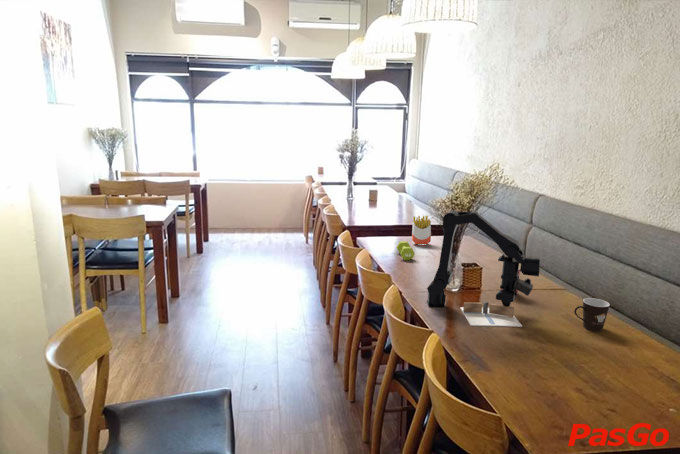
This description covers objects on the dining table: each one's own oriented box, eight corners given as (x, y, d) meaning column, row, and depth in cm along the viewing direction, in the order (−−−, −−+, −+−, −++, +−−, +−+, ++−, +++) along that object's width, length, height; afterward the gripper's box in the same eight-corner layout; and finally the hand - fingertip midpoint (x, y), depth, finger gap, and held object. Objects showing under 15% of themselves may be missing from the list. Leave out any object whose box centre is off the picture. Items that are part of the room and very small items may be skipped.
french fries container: (430, 245, 286) (431, 216, 282) (412, 245, 286) (414, 216, 282) (429, 243, 291) (430, 215, 287) (411, 243, 291) (412, 215, 287)
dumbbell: (396, 252, 270) (396, 240, 269) (409, 252, 271) (410, 240, 269) (400, 260, 254) (400, 248, 253) (414, 260, 255) (415, 248, 253)
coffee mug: (603, 324, 174) (607, 299, 172) (608, 334, 166) (612, 308, 164) (569, 320, 178) (572, 295, 176) (572, 329, 170) (575, 304, 168)
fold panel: (488, 313, 183) (489, 304, 182) (489, 312, 183) (490, 303, 183) (513, 317, 179) (513, 308, 178) (513, 316, 179) (514, 307, 179)
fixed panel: (464, 314, 183) (464, 302, 182) (462, 312, 185) (463, 301, 184) (488, 314, 183) (488, 303, 182) (486, 312, 185) (487, 301, 184)
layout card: (470, 325, 173) (470, 324, 173) (460, 308, 189) (460, 306, 189) (522, 326, 172) (522, 325, 172) (507, 308, 189) (507, 307, 189)
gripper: (529, 283, 166) (525, 323, 170) (535, 269, 182) (531, 306, 186) (497, 278, 172) (493, 317, 175) (505, 265, 188) (502, 301, 191)
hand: (506, 310), depth 182 cm, fingers closed
